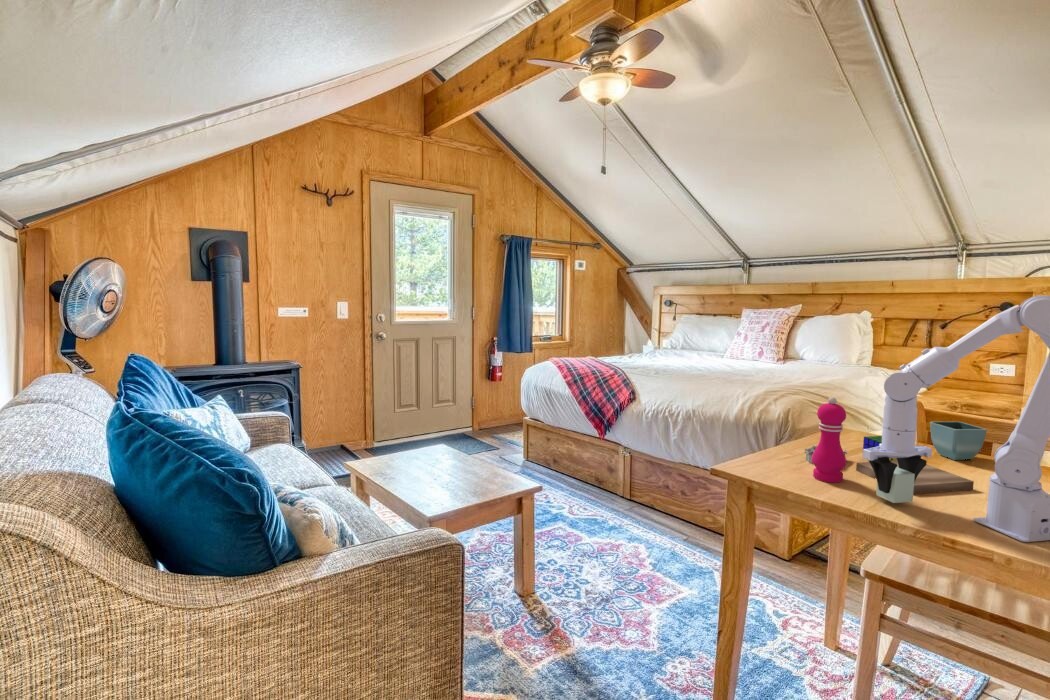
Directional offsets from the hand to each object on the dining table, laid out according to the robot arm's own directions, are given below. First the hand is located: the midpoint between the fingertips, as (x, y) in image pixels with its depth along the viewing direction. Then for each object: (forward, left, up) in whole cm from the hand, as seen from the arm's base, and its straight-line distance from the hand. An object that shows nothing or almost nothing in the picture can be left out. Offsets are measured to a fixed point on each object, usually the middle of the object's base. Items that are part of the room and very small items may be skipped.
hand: (894, 490), depth 112 cm
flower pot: (+25, -42, -3) cm, 49 cm away
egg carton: (+28, -6, -3) cm, 29 cm away
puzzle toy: (+27, -21, -3) cm, 34 cm away
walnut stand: (+12, -16, -3) cm, 20 cm away
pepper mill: (+16, +3, -3) cm, 17 cm away
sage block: (0, 0, -2) cm, 2 cm away
